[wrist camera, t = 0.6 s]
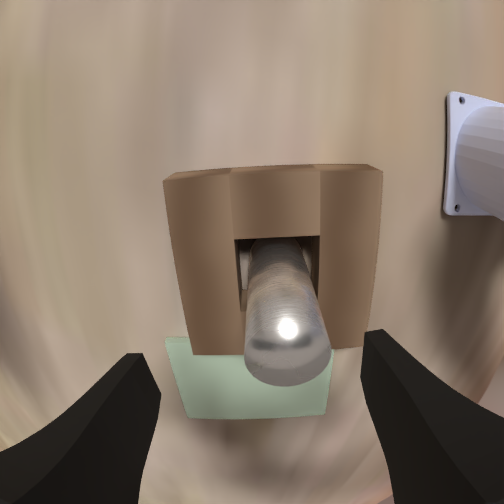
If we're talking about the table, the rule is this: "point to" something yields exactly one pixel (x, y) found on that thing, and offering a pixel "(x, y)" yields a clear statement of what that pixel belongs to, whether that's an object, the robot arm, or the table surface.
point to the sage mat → (239, 387)
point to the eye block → (267, 226)
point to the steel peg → (283, 316)
